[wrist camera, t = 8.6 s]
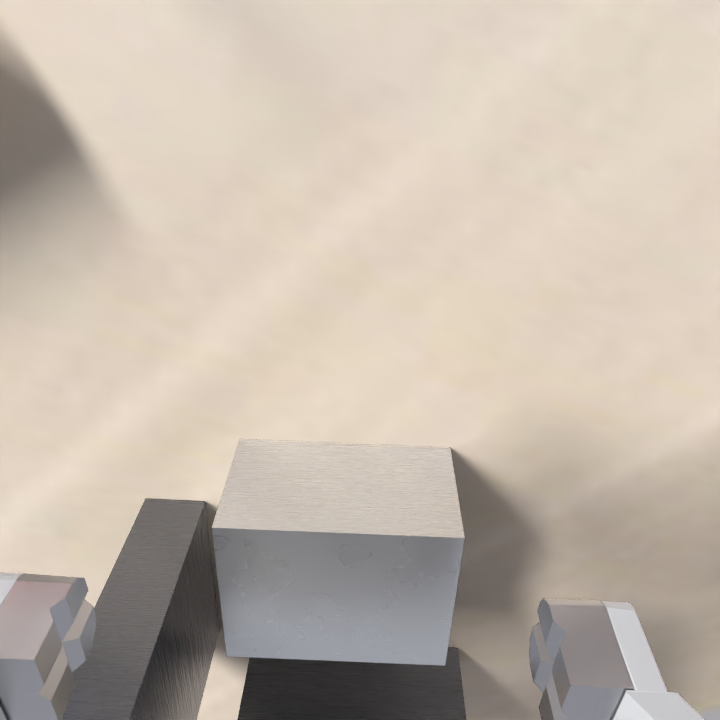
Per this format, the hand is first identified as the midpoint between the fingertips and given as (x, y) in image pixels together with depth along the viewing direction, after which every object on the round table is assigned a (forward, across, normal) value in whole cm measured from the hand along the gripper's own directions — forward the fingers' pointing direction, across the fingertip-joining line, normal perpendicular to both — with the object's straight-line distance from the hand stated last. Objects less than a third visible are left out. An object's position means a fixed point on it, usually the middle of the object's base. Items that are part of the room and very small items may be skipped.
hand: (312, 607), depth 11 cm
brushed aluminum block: (+16, 0, +14) cm, 21 cm away
